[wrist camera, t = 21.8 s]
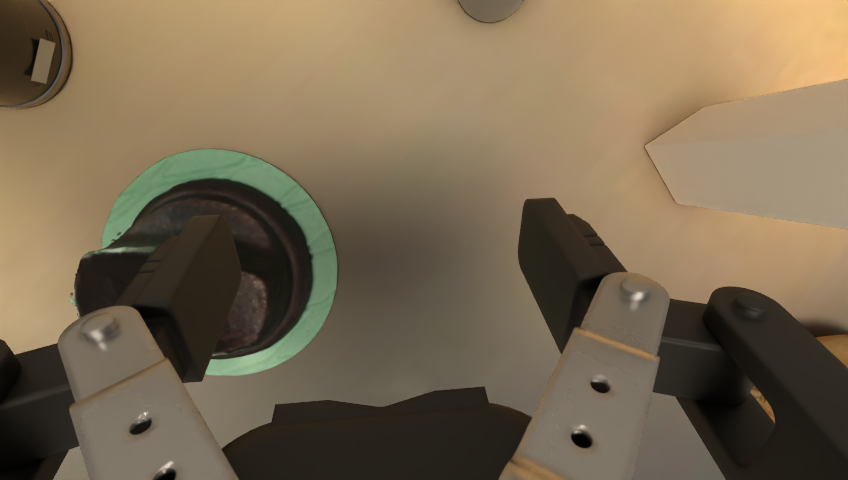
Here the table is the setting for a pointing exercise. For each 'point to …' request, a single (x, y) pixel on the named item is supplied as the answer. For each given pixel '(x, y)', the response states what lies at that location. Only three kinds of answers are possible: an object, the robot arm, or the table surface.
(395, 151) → the table surface
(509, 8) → the lotion bottle
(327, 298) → the chocolate cake
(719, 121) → the milk
